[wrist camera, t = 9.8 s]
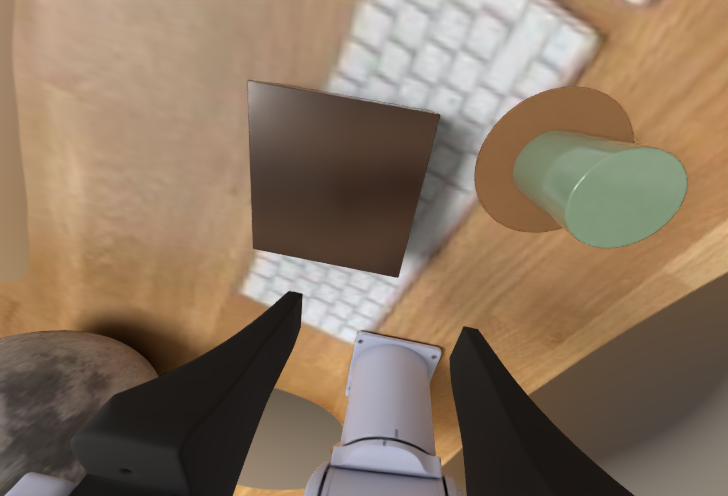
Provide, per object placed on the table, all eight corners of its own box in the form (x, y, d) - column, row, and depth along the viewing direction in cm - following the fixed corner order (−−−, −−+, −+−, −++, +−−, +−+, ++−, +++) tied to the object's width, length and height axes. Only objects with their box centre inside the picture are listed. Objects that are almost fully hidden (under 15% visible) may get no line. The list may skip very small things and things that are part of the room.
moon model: (100, 409, 40) (-141, 656, 22) (0, 290, 31) (-540, 549, 13) (231, 415, 36) (69, 712, 19) (161, 284, 27) (-274, 619, 10)
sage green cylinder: (567, 205, 19) (645, 257, 13) (501, 193, 19) (547, 238, 13) (603, 136, 17) (716, 159, 11) (529, 123, 17) (600, 138, 11)
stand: (399, 250, 23) (398, 278, 19) (275, 225, 23) (252, 249, 19) (433, 111, 18) (440, 114, 14) (277, 83, 18) (246, 79, 15)
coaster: (581, 241, 20) (584, 243, 20) (457, 217, 21) (457, 219, 20) (664, 101, 16) (669, 101, 16) (505, 74, 16) (507, 74, 16)
